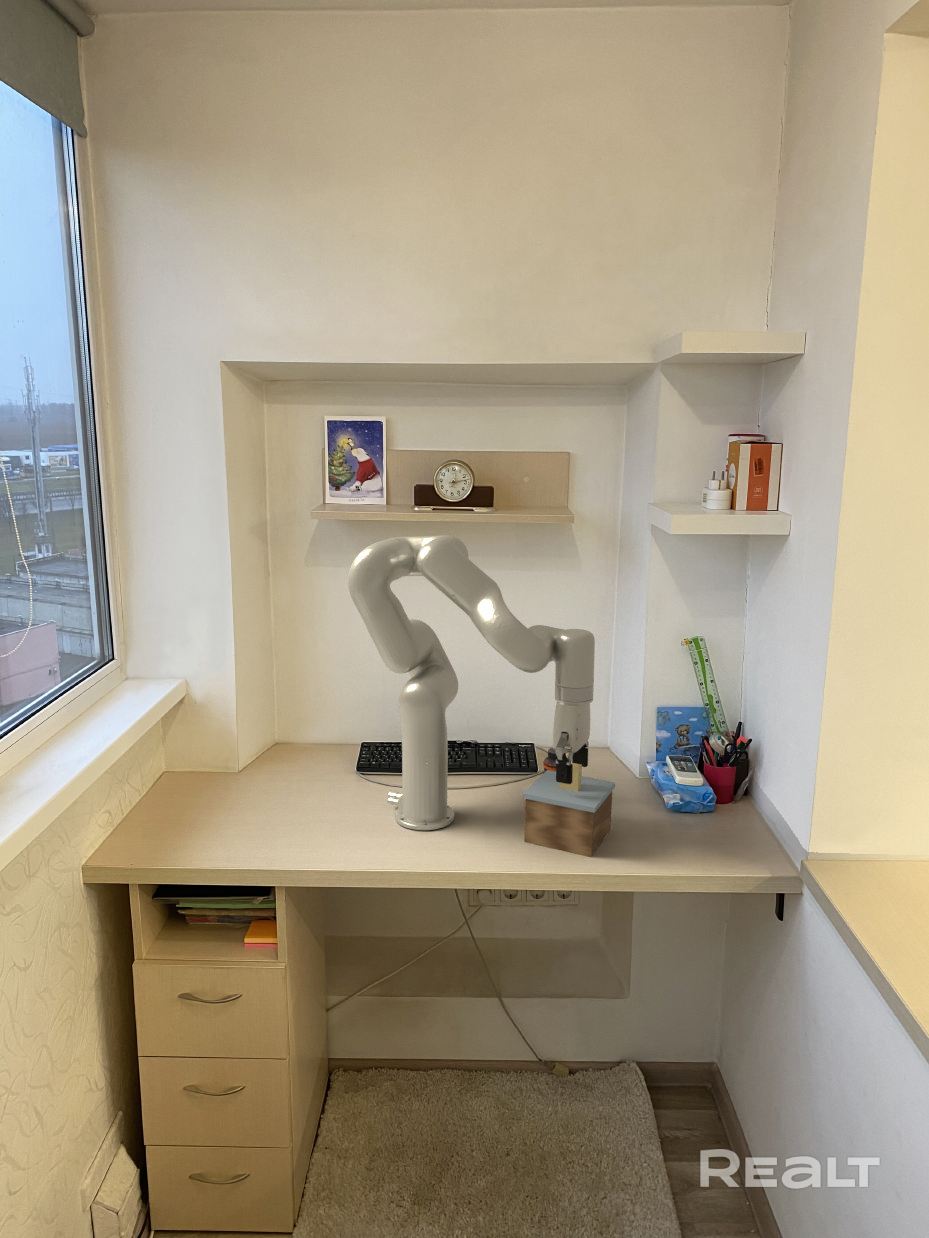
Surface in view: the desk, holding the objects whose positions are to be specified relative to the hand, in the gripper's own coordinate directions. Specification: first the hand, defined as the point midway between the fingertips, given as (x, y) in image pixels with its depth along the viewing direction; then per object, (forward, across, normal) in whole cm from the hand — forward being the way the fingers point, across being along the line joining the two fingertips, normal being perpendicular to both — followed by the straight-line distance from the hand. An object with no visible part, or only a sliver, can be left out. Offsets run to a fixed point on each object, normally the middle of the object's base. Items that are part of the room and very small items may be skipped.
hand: (572, 773), depth 173 cm
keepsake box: (+14, 0, 0) cm, 14 cm away
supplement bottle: (+14, -17, -10) cm, 24 cm away
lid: (+4, 0, 0) cm, 4 cm away
